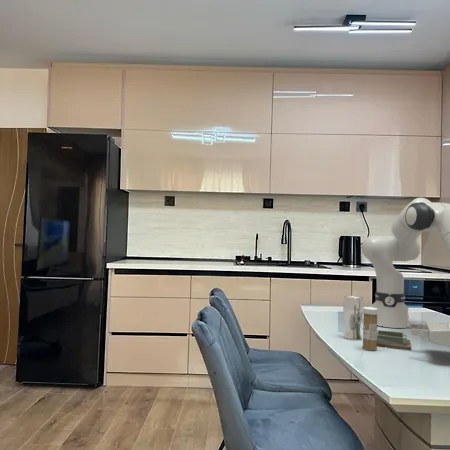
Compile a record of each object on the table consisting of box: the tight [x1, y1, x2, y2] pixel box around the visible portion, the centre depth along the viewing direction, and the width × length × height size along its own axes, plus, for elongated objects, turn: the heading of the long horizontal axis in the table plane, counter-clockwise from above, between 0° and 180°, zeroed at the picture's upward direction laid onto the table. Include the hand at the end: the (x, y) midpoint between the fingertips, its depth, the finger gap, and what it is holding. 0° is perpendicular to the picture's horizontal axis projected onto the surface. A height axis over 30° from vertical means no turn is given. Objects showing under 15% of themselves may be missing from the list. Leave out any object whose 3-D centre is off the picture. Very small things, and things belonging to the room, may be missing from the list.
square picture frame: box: [376, 329, 412, 351], centre depth 146 cm, size 13×13×4 cm
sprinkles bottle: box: [362, 306, 378, 351], centre depth 138 cm, size 5×5×13 cm
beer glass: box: [342, 295, 364, 341], centre depth 154 cm, size 7×7×15 cm
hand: (410, 329), depth 133 cm, fingers open, 8 cm apart
